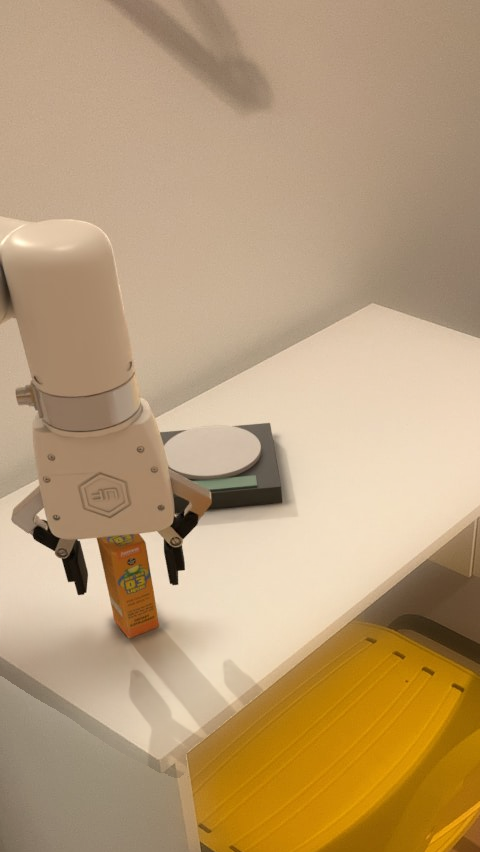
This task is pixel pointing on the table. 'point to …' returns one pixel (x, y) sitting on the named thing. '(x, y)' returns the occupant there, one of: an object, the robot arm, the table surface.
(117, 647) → the table surface
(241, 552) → the table surface
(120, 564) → the supplement box
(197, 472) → the scale
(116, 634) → the table surface
